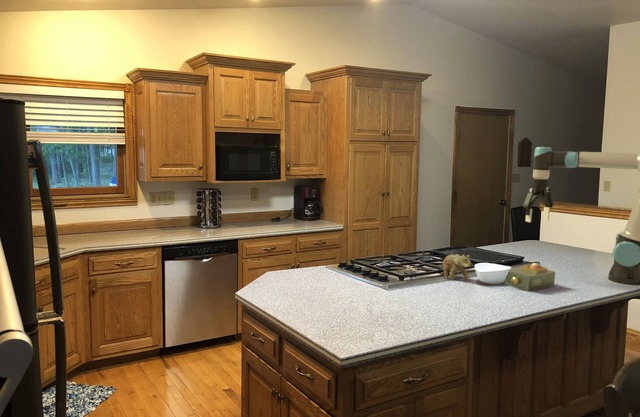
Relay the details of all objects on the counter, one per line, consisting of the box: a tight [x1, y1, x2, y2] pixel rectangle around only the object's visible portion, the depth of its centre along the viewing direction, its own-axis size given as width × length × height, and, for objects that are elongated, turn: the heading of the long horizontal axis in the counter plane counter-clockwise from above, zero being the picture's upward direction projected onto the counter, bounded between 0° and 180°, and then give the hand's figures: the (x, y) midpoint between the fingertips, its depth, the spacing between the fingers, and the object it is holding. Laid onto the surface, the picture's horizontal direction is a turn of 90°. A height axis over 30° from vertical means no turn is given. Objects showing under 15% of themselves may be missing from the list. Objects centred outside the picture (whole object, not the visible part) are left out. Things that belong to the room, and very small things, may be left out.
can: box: [529, 262, 541, 269], centre depth 247 cm, size 5×5×9 cm
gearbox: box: [504, 264, 556, 293], centre depth 245 cm, size 20×13×8 cm, turn 121°
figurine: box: [442, 253, 472, 282], centre depth 254 cm, size 10×16×16 cm, turn 14°
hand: (537, 221), depth 265 cm, fingers open, 13 cm apart
